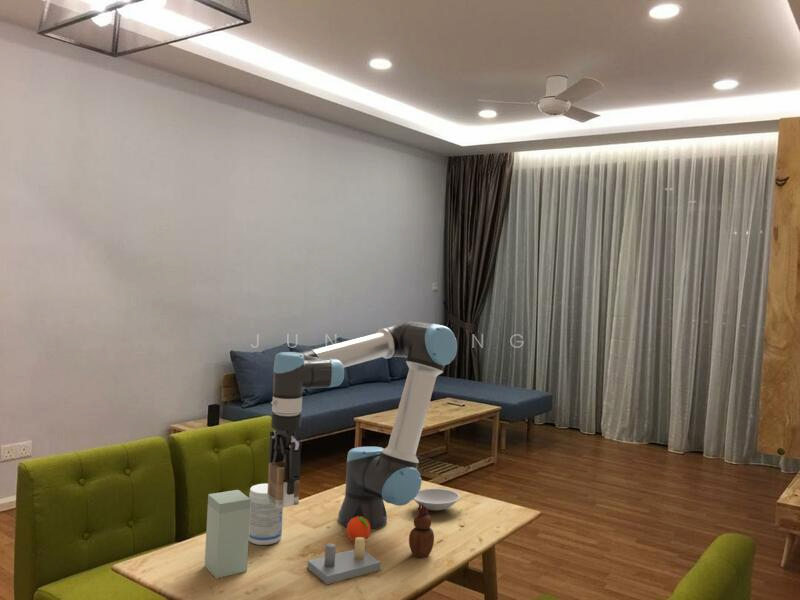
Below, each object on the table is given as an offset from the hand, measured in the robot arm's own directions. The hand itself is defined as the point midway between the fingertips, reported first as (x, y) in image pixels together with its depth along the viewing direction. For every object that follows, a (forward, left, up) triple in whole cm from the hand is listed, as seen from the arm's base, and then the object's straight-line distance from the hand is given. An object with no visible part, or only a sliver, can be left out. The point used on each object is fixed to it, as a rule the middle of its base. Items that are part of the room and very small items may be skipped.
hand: (282, 501), depth 164 cm
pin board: (-14, +10, -17) cm, 24 cm away
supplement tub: (-4, -17, -17) cm, 24 cm away
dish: (-63, -12, -17) cm, 66 cm away
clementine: (-27, -3, -17) cm, 32 cm away
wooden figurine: (-37, +13, -17) cm, 42 cm away
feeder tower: (+12, -5, -17) cm, 21 cm away
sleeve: (0, 0, 0) cm, 0 cm away
